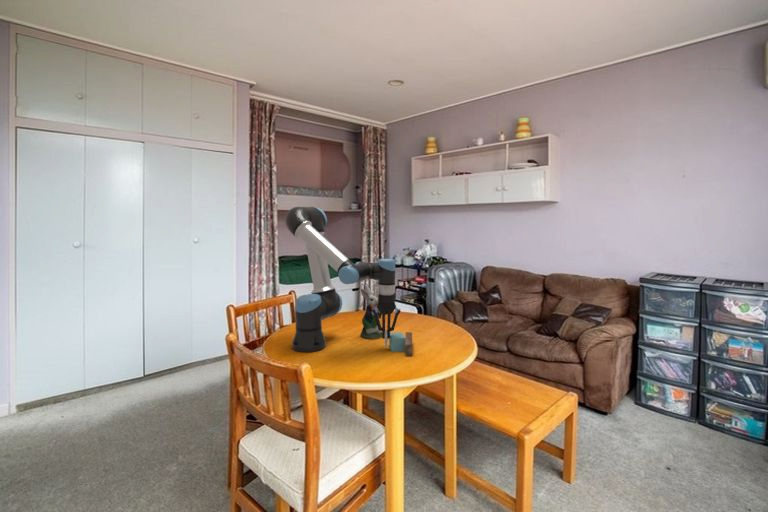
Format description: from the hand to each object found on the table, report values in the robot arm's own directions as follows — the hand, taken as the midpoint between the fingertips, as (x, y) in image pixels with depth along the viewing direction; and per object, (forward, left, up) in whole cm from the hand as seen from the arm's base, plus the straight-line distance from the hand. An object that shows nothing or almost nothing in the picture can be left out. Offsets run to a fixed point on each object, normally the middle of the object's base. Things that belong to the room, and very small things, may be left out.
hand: (386, 345), depth 177 cm
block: (+5, +1, -2) cm, 5 cm away
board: (+10, 0, -2) cm, 10 cm away
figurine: (-8, +19, -2) cm, 21 cm away
